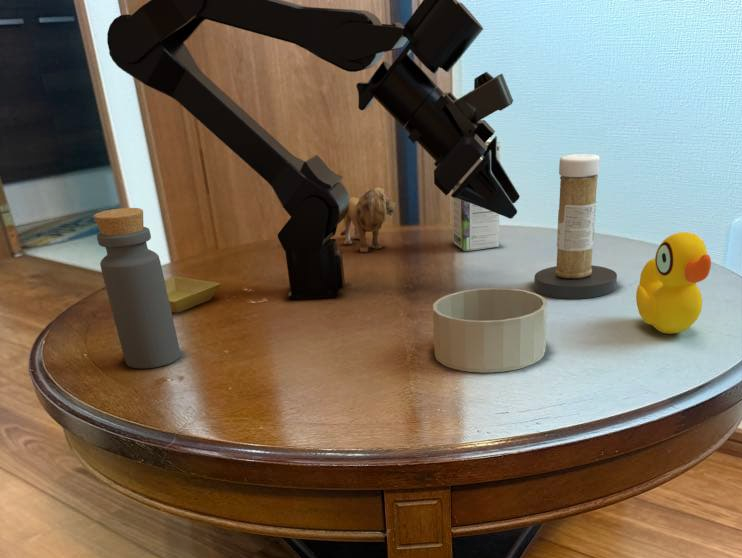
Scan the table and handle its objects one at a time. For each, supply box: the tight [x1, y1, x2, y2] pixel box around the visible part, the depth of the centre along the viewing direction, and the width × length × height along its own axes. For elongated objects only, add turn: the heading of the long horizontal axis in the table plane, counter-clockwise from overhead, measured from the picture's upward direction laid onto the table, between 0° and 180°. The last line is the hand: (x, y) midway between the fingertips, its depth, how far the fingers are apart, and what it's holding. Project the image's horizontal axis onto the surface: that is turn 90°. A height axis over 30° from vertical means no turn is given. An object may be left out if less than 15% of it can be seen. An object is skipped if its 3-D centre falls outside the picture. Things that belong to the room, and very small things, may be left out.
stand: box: [533, 264, 618, 300], centre depth 99 cm, size 10×10×2 cm
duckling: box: [635, 231, 712, 335], centre depth 81 cm, size 11×5×10 cm, turn 11°
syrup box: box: [452, 138, 501, 252], centre depth 118 cm, size 6×6×14 cm
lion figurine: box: [339, 187, 397, 253], centre depth 123 cm, size 15×5×9 cm, turn 33°
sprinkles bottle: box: [555, 153, 601, 279], centre depth 95 cm, size 5×5×14 cm
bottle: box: [93, 207, 181, 369], centre depth 82 cm, size 6×6×15 cm
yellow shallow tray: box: [164, 276, 221, 314], centre depth 104 cm, size 9×9×2 cm
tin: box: [432, 287, 548, 374], centre depth 81 cm, size 11×11×5 cm
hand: (515, 207), depth 96 cm, fingers open, 9 cm apart
